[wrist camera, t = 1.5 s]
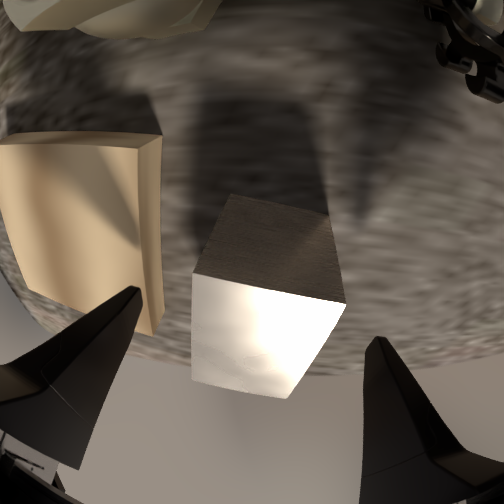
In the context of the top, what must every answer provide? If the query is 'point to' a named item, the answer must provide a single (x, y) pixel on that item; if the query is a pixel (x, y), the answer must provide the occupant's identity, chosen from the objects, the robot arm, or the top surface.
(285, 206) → the aluminium block
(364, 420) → the robot arm
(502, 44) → the valve
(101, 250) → the oak plate
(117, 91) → the top surface
